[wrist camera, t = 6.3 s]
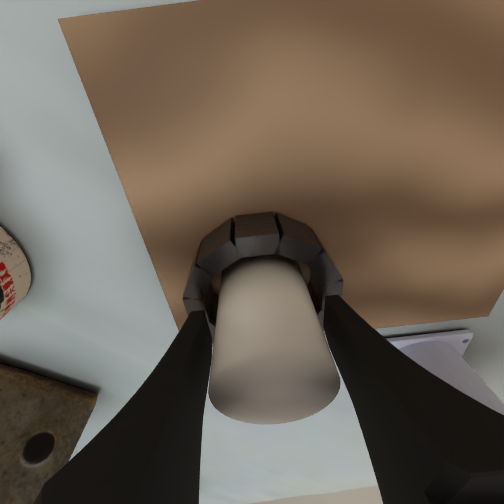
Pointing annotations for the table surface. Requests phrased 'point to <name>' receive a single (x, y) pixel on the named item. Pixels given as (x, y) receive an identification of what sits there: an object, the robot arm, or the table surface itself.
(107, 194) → the table surface
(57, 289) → the table surface
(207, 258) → the faceted grey ring
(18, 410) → the vintage camera
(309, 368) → the cap plug
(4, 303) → the teacup with lid
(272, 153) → the board
